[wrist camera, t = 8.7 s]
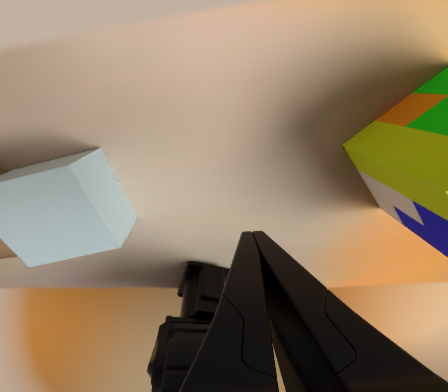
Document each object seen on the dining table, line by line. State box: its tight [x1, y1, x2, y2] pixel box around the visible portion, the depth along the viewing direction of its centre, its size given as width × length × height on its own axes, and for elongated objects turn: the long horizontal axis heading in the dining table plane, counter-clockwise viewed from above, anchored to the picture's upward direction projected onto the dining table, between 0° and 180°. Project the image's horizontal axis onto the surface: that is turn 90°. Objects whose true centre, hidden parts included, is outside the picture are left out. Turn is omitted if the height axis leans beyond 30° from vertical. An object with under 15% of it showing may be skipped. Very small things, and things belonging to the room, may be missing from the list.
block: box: [0, 148, 138, 267], centre depth 19 cm, size 8×9×5 cm
